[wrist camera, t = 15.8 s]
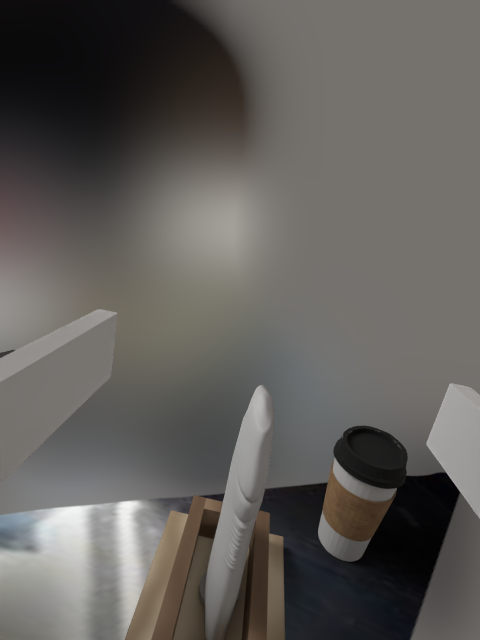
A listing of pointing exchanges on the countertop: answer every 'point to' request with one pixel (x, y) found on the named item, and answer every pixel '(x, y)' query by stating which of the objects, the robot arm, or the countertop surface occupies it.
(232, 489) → the tall pale column
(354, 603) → the countertop surface
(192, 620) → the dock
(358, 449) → the coffee cup
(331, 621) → the countertop surface
